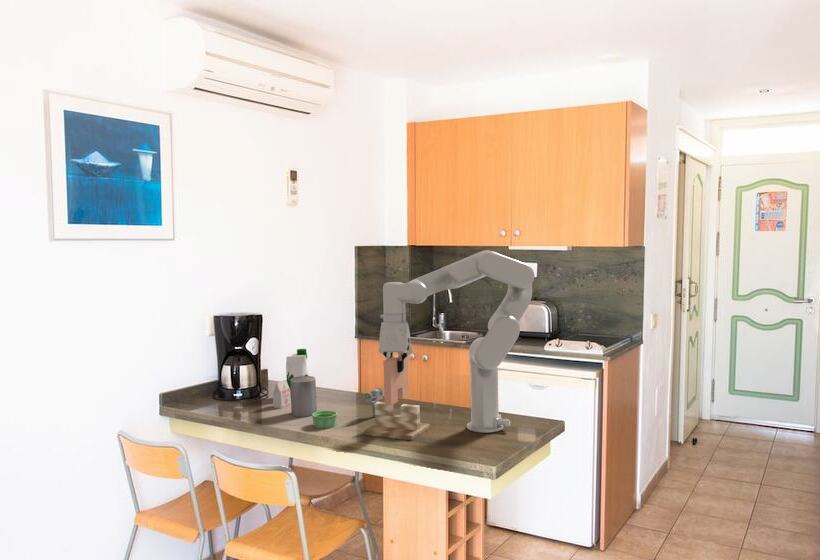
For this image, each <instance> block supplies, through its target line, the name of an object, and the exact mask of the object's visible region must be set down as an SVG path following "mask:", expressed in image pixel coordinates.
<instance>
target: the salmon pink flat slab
mask: <svg viewBox="0 0 820 560" xmlns="http://www.w3.org/2000/svg"><path fill="white" fill-rule="evenodd" d="M408 358H409V355H408V356H407V357H406V358H405V359H404V369H403V371H402V372H400V373H398V368H397V361H399V360H398V359H399V358H398V354H396V355H393V357H391V358H389V359H387V358H386V359H383V384H384V385H383V398H384V402H385V405H393V406H394V405H395V404H396V403H398V402H399V400H403V399H406V398H408V397H409V394H410V393H409V392H410V390H409V359H408Z"/></svg>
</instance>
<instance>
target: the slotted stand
mask: <svg viewBox="0 0 820 560" xmlns="http://www.w3.org/2000/svg"><path fill="white" fill-rule="evenodd" d="M420 407H421V405H420V404H419V405H417V404H408V403H407V404H406V403H403V404H402V405H400V414H395V413H394V412H395V411H394V404H393V405H385V401H378V402H376V403H375V417H374V424H373V425H371V426H370V427H368V428H366V429H365V430H364V431H363V433H364V436H370V435H371V436H372V437H379V436H380V437H381V438H387V437H388V438H389V439H396V438H397V440H398V439H399V440H404V441H405V440H406V441H407V440H408V441H413V440H415V439H416V438H418V437H419V436H422V435H423V434H424V433H425V432H426V431H428V430H429V429H430V428H431V424H430V423H426V422H425V423H424V422H421V411H420V410H421V408H420Z"/></svg>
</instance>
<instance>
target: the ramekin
mask: <svg viewBox="0 0 820 560" xmlns="http://www.w3.org/2000/svg"><path fill="white" fill-rule="evenodd" d="M337 416H338V412H337V411H334V410H319V411H318V410H317V412H315V413H313V414H312V416H311V417H312V424H313V427H314V428H317V429H330V427H331V428H333V427H335V426H337Z"/></svg>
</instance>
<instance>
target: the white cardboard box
mask: <svg viewBox="0 0 820 560" xmlns="http://www.w3.org/2000/svg"><path fill="white" fill-rule="evenodd" d="M272 401H273V402H272V406H273V407H274V409H283V407H284V408H286V407H289V406H290V404H291V395H290V388H289V386H288V383H287V379H284V380H282V381H279V382H276V383H275V386H274V389H273V392H272Z"/></svg>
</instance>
